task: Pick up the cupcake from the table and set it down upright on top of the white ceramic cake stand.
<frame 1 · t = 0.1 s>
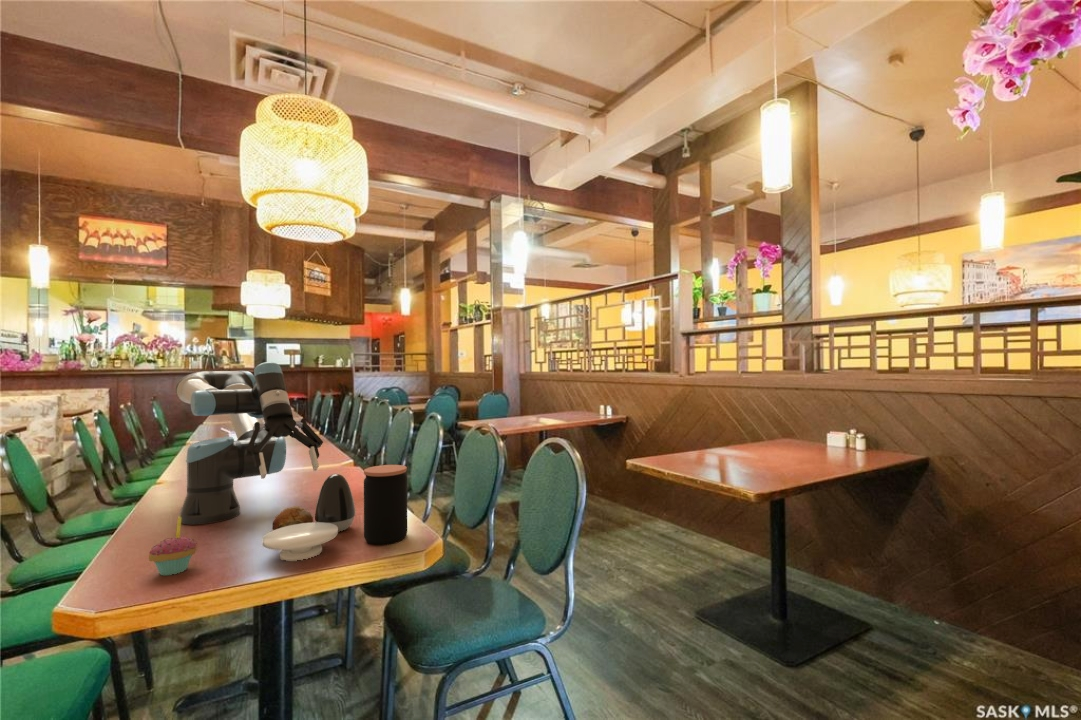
hand: (291, 472, 137), 15 cm above the table, tool tilted 35°, fingers open, 13 cm apart
cake stand: (301, 553, 116), on the table
coffee jar: (386, 539, 126), on the table
bread roll: (292, 531, 134), on the table
black egg shaped dome: (335, 530, 134), on the table
cupcake: (173, 572, 107), on the table
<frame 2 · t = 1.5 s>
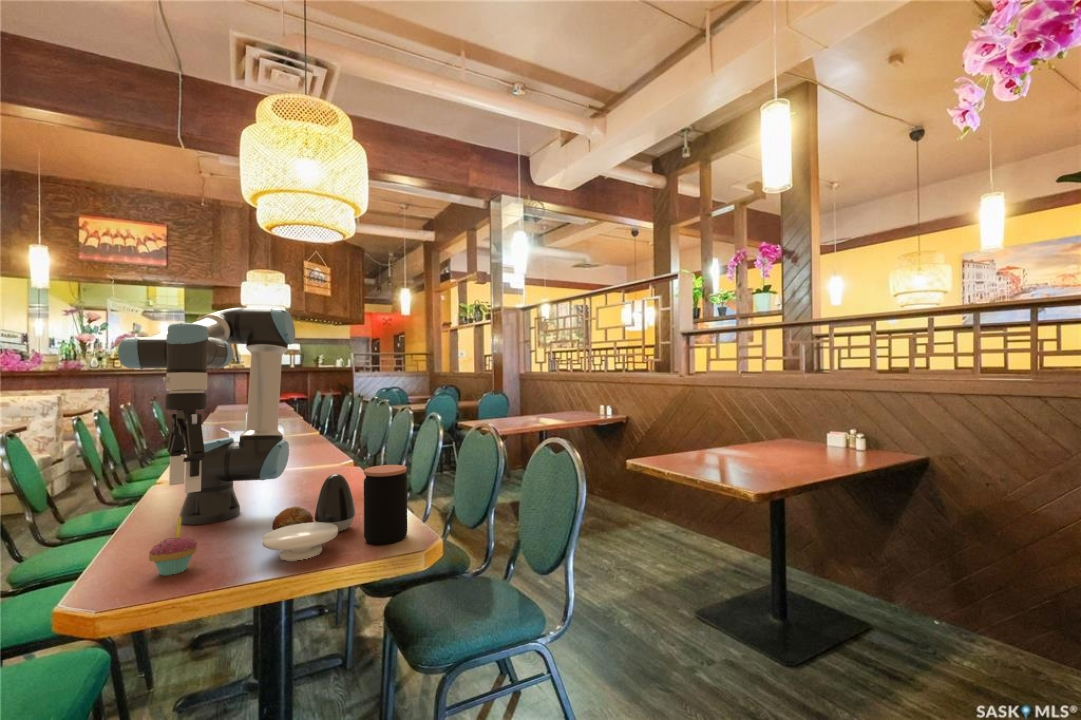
hand: (184, 488, 109), 18 cm above the table, tool pointing down, fingers open, 13 cm apart
nothing on the table moved.
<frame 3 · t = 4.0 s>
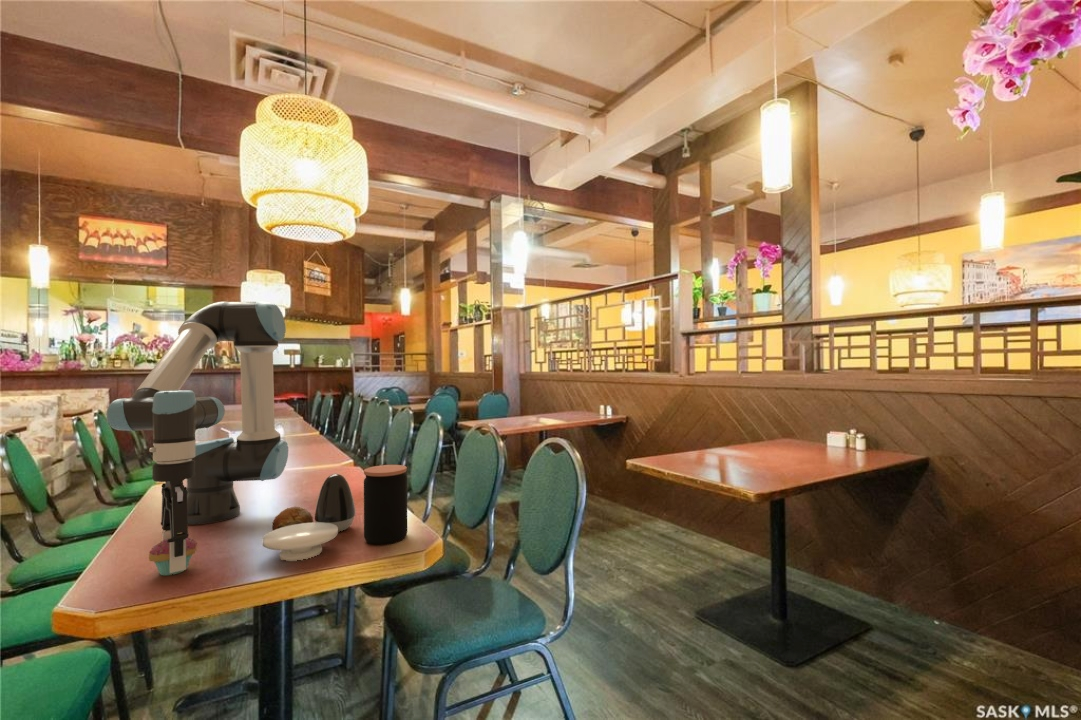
hand: (173, 565, 107), 1 cm above the table, tool pointing down, fingers closed on cupcake, 8 cm apart
cupcake: (173, 572, 107), on the table, touching gripper
everything else where it was.
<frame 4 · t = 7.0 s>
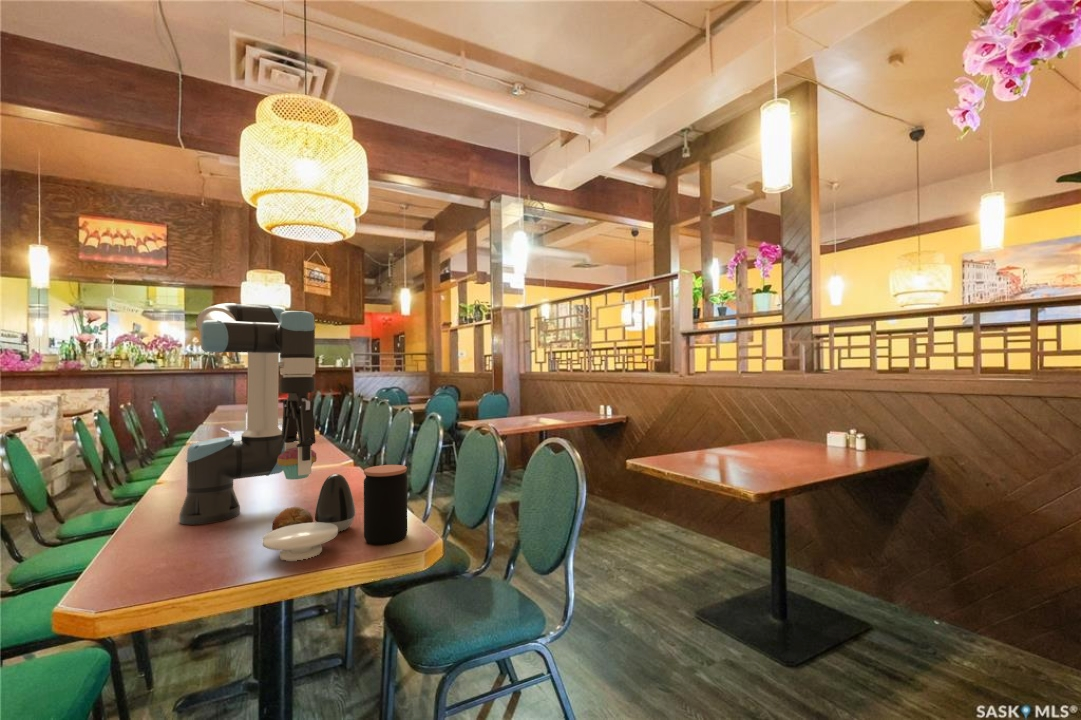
hand: (297, 471, 116), 19 cm above the table, tool pointing down, fingers closed on cupcake, 8 cm apart
cupcake: (297, 478, 116), point 18 cm above the table, touching gripper
everything else where it was.
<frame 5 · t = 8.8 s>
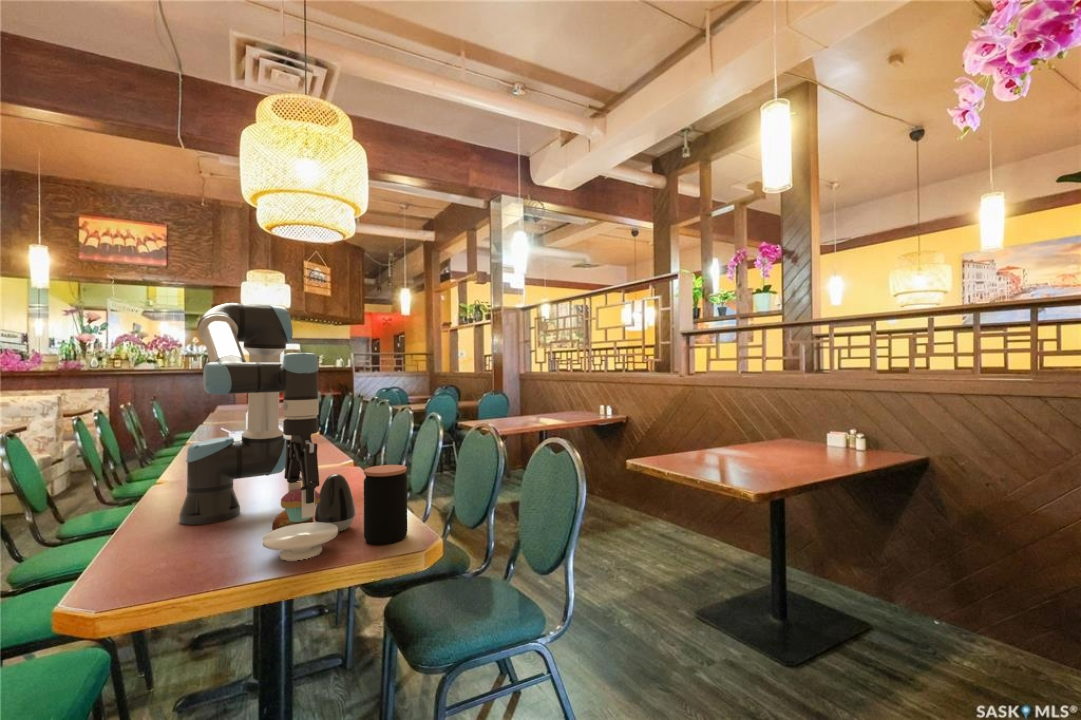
hand: (301, 513, 116), 10 cm above the table, tool pointing down, fingers closed on cupcake, 8 cm apart
cupcake: (301, 519, 116), point 8 cm above the table, touching gripper
everything else where it was.
when the fingers open (8 cm above the table, at t = 10.1 s): cupcake drops 1 cm, resting on cake stand.
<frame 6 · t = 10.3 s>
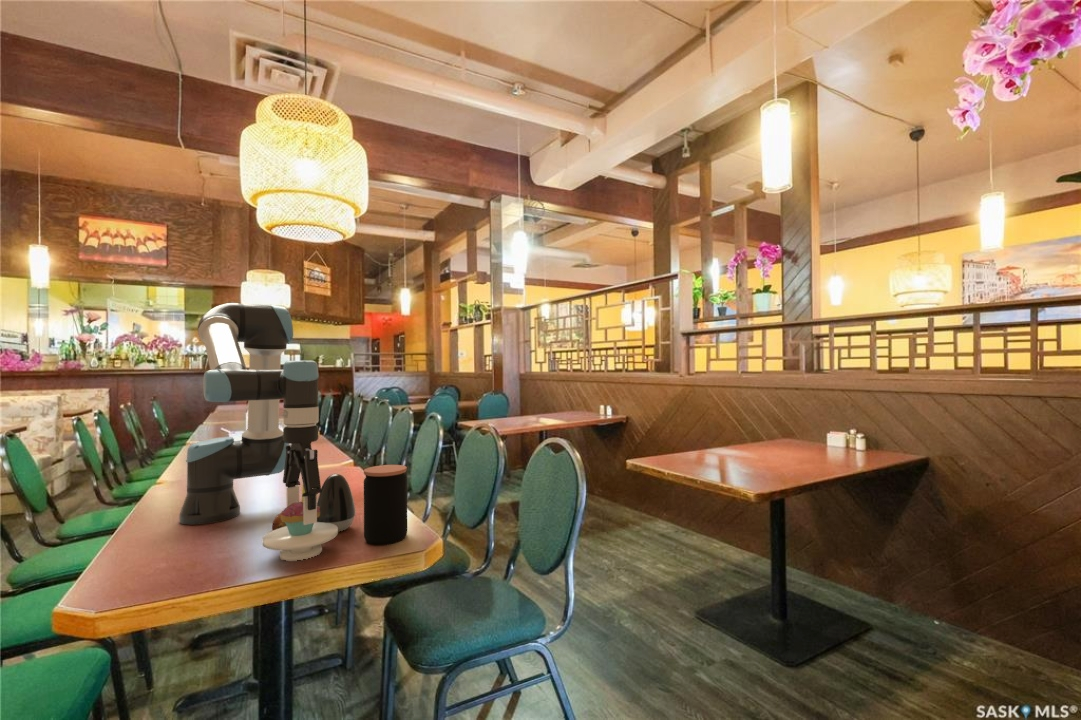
hand: (301, 518, 116), 8 cm above the table, tool pointing down, fingers open, 10 cm apart
cupcake: (301, 533, 116), point 5 cm above the table, touching cake stand
everything else where it was.
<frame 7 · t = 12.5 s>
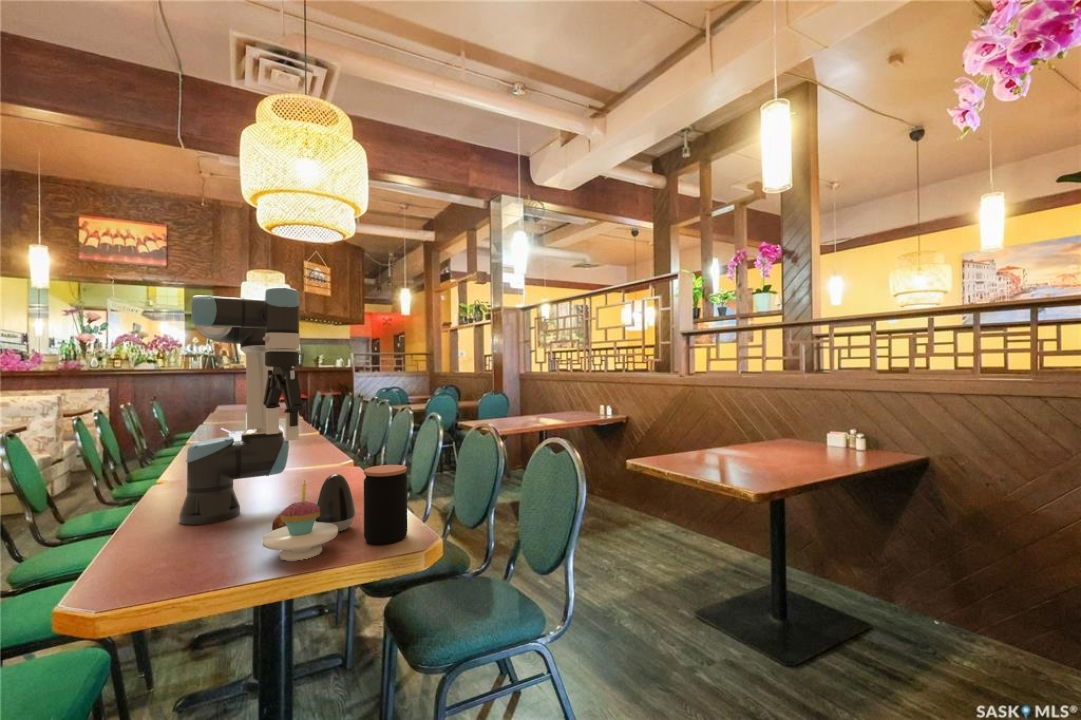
hand: (282, 436, 121), 27 cm above the table, tool pointing down, fingers open, 13 cm apart
nothing on the table moved.
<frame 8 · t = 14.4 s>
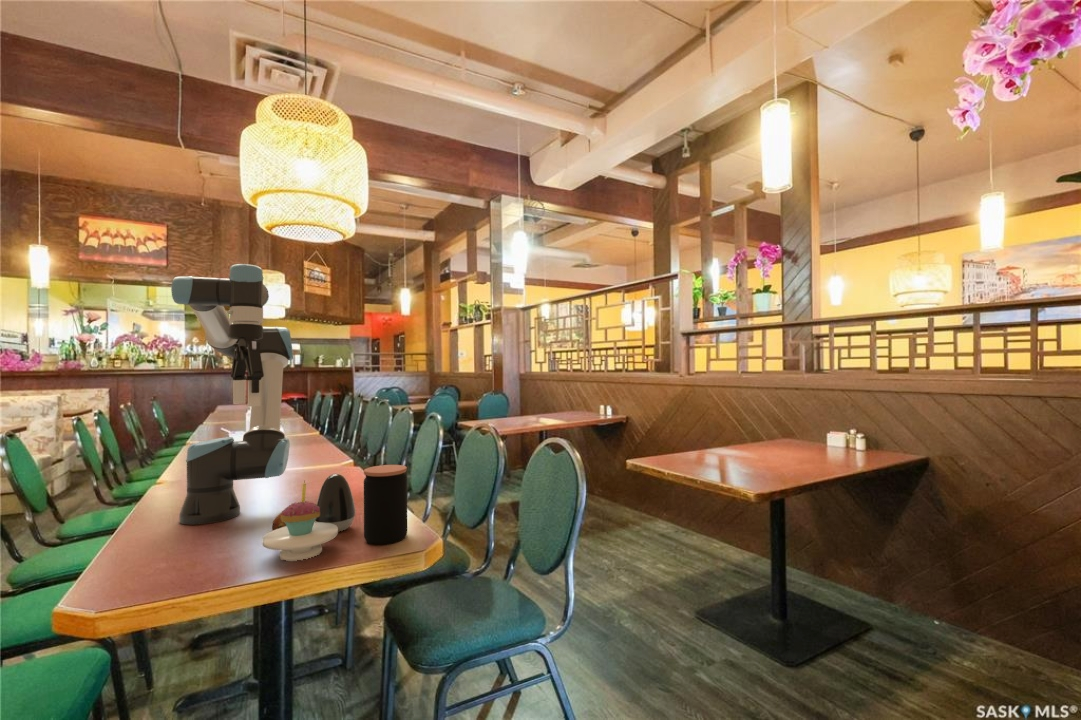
hand: (246, 405, 128), 35 cm above the table, tool pointing down, fingers open, 13 cm apart
nothing on the table moved.
at the end: cupcake inside the target area on the cake stand (0.1 cm from its centre), point 4.8 cm above the cake stand's base; cupcake tilted 0°; the gripper is holding nothing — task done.
